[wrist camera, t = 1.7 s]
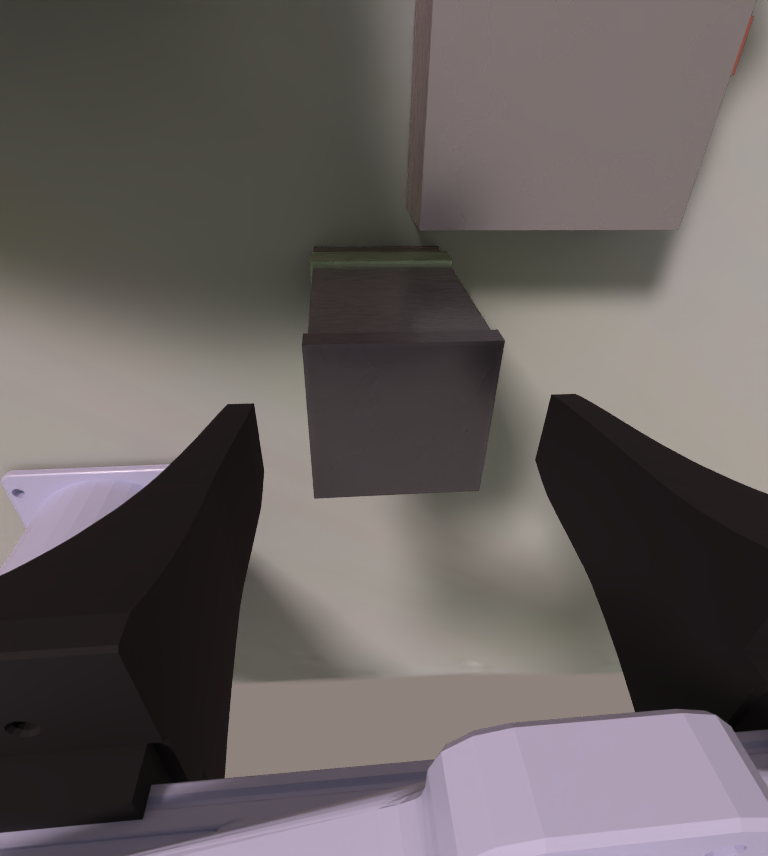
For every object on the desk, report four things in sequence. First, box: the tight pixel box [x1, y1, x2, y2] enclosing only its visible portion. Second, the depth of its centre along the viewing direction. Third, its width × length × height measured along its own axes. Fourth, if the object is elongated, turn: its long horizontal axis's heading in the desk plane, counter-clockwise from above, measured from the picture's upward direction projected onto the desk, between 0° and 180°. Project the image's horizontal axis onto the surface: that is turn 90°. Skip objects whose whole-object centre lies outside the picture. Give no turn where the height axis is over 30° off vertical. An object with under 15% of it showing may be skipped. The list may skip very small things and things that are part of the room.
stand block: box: [407, 0, 756, 230], centre depth 13 cm, size 9×8×4 cm
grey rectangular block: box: [302, 246, 505, 498], centre depth 16 cm, size 5×5×8 cm
